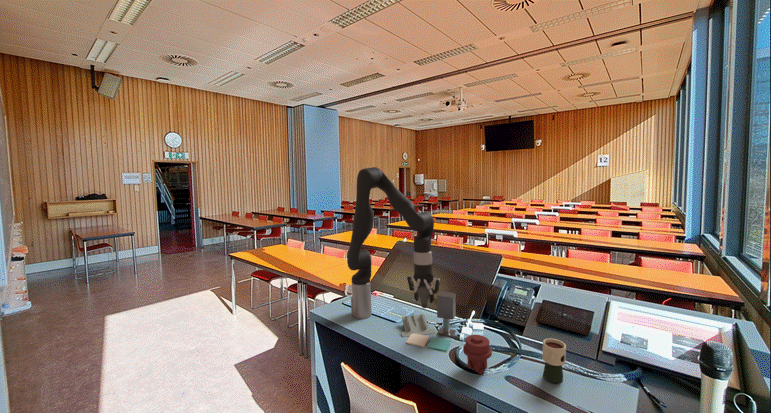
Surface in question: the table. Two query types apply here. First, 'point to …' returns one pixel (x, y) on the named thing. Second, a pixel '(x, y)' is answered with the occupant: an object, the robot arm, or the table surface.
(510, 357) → the table surface
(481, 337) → the mechanical component
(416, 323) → the metal bracket
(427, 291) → the light bulb
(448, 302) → the control housing
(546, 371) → the character mug
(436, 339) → the teal pad
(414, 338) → the cream pad
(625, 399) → the table surface
